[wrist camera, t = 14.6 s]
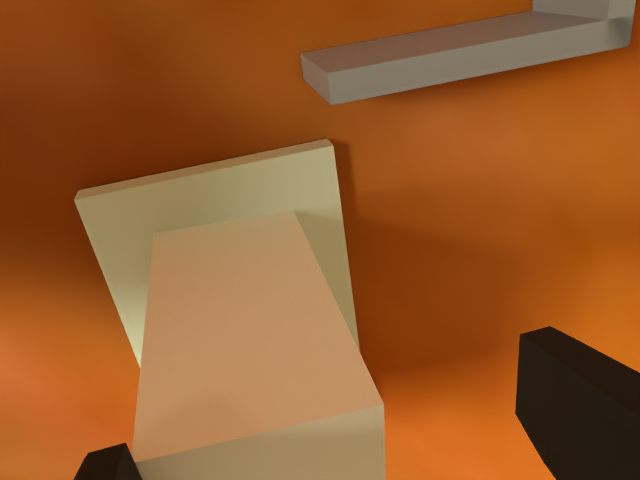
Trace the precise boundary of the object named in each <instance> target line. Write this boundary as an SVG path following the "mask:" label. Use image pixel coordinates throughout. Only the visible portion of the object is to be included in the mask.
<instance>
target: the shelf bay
mask: <svg viewBox="0 0 640 480" xmlns="http://www.w3.org/2000/svg"><path fill="white" fill-rule="evenodd" d="M635 3H636V0H533V3H532V11H527V12H522V13H517V14H511V15H506V16H500V17H495V18H489V19H484V20H478V21H473V22H468V23H462V24H457V25H451V26H446V27H440V28H435V29H429V30H424V31H419V32H413V33H408V34H402V35H397V36H391V37H386V38H380V39H375V40H369V41H364V42H359V43H353V44H348V45H342V46H337V47H331V48H326V49H320V50H315V51H310V52H304V53H300V59H301V66H302V73H303V79H304V81H305V82H306V83H307V84H309V85H310V86H311V87H312V88H313V89H314V90H315V91H316V92H317V93H318V94H319V95H321V96H322V97H323V98H324V99H325V100H326V101H327V102H328V103H329V104H330V105H336V104H341V103H346V102H351V101H356V100H361V99H366V98H371V97H376V96H381V95H386V94H391V93H396V92H401V91H406V90H411V89H416V88H421V87H426V86H431V85H436V84H442V83H447V82H452V81H457V80H462V79H467V78H472V77H477V76H482V75H487V74H492V73H497V72H502V71H507V70H512V69H517V68H522V67H527V66H532V65H537V64H542V63H547V62H552V61H557V60H562V59H567V58H572V57H577V56H582V55H587V54H592V53H597V52H602V51H607V50H612V49H617V48H622V47H627V46H630V39H631V32H632V25H633V18H634V10H635Z"/></svg>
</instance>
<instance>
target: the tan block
mask: <svg viewBox="0 0 640 480" xmlns="http://www.w3.org/2000/svg"><path fill="white" fill-rule="evenodd" d="M132 458H133V460H134V462H135V464H136V466H137V469H138V471H139V473H140V475H141V478H142V480H386V472H385V429H384V403H383V401H382V399H381V397H380V395H379V393H378V390H377V388H376V386H375V384H374V382H373V380H372V378H371V375H370V373H369V371H368V369H367V367H366V365H365V363H364V360H363V358H362V356H361V354H360V352H359V350H358V348H357V345H356V343H355V341H354V339H353V337H352V335H351V333H350V330H349V328H348V326H347V324H346V322H345V320H344V318H343V315H342V313H341V311H340V309H339V307H338V305H337V303H336V300H335V298H334V296H333V294H332V292H331V290H330V288H329V285H328V283H327V281H326V279H325V277H324V275H323V273H322V270H321V268H320V266H319V264H318V262H317V260H316V258H315V255H314V253H313V251H312V249H311V247H310V245H309V243H308V240H307V238H306V236H305V234H304V232H303V230H302V228H301V225H300V223H299V221H298V219H297V217H296V215H295V213H294V210H290V211H284V212H278V213H272V214H266V215H260V216H254V217H248V218H242V219H236V220H230V221H224V222H218V223H211V224H205V225H199V226H193V227H187V228H181V229H175V230H169V231H163V232H157V233H154V234H153V245H152V255H151V265H150V275H149V285H148V295H147V306H146V316H145V326H144V336H143V346H142V357H141V367H140V377H139V387H138V397H137V407H136V418H135V428H134V438H133V448H132Z"/></svg>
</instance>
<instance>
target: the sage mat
mask: <svg viewBox="0 0 640 480" xmlns="http://www.w3.org/2000/svg"><path fill="white" fill-rule="evenodd" d="M74 202H75V204H76V207H77V209H78V212H79V214H80V217H81V220H82V222H83V225H84V227H85V230H86V232H87V235H88V237H89V240H90V242H91V245H92V247H93V250H94V252H95V255H96V257H97V260H98V263H99V265H100V268H101V270H102V273H103V275H104V278H105V280H106V283H107V285H108V288H109V290H110V293H111V295H112V298H113V301H114V303H115V306H116V308H117V311H118V313H119V316H120V318H121V321H122V323H123V326H124V328H125V331H126V333H127V336H128V339H129V341H130V344H131V346H132V349H133V351H134V354H135V356H136V359H137V361H138V364H139V366H140V367H141V357H142V346H143V336H144V326H145V316H146V306H147V295H148V285H149V275H150V265H151V255H152V245H153V234H154V233H157V232H163V231H169V230H175V229H181V228H187V227H193V226H199V225H205V224H211V223H218V222H224V221H230V220H236V219H242V218H248V217H254V216H260V215H266V214H272V213H278V212H284V211H290V210H294V213H295V215H296V217H297V219H298V221H299V223H300V225H301V228H302V230H303V232H304V234H305V236H306V238H307V240H308V243H309V245H310V247H311V249H312V251H313V253H314V255H315V258H316V260H317V262H318V264H319V266H320V268H321V270H322V273H323V275H324V277H325V279H326V281H327V283H328V285H329V288H330V290H331V292H332V294H333V296H334V298H335V300H336V303H337V305H338V307H339V309H340V311H341V313H342V315H343V318H344V320H345V322H346V324H347V326H348V328H349V330H350V333H351V335H352V337H353V339H354V341H355V343H356V345H357V348H358V350H359V352H360V348H359V340H358V332H357V325H356V317H355V309H354V301H353V294H352V286H351V278H350V270H349V263H348V255H347V247H346V239H345V232H344V224H343V216H342V208H341V201H340V193H339V185H338V177H337V170H336V162H335V154H334V146H333V144H332V143H331V142H330V141H329V140H328V139H323V140H318V141H313V142H308V143H303V144H298V145H294V146H289V147H284V148H279V149H274V150H270V151H265V152H260V153H255V154H250V155H246V156H241V157H236V158H231V159H226V160H221V161H217V162H212V163H207V164H202V165H197V166H193V167H188V168H183V169H178V170H173V171H169V172H164V173H159V174H154V175H149V176H144V177H140V178H135V179H130V180H125V181H120V182H116V183H111V184H106V185H101V186H96V187H92V188H87V189H82V190H78V192H77V194H76V196H75V199H74Z"/></svg>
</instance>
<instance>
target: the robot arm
mask: <svg viewBox="0 0 640 480" xmlns="http://www.w3.org/2000/svg"><path fill="white" fill-rule="evenodd" d="M515 414H516V415H517V417H518V419H519V421H520V422H521V424H522V426H523V428H524V429H525V431H526V433H527V435H528V437H529V438H530V440H531V442H532V443H533V445H534V447H535V448H536V450H537V452H538V453H539V455H540V457H541V458H542V460H543V462H544V463H545V465H546V466H547V468H548V469H549V470H550V472H551V473H552V474H553V476H554V477H555V478H556V480H640V373H639V372H637V371H635V370H633V369H631V368H629V367H627V366H625V365H624V364H622V363H620V362H618V361H616V360H614V359H612V358H610V357H608V356H606V355H605V354H603V353H601V352H599V351H597V350H595V349H593V348H591V347H589V346H588V345H586V344H584V343H582V342H580V341H578V340H576V339H574V338H572V337H570V336H568V335H566V334H565V333H563V332H561V331H559V330H556V329H554V328H552V327H550V326H549V327H545V328H542V329H538V330H535V331H531V332H527V333H524V334H520V343H519V360H518V377H517V395H516V412H515ZM74 480H142V478H141V475H140V473H139V471H138V469H137V466H136V464H135V462H134V460H133V458H132V455H131V453H130V451H129V449H128V447H127V444H126V443H123V444H119V445H116V446H112V447H108V448H105V449H101V450H97V451H94V452H90V453H88V454H87V456H86V457H85V459H84V460H83V462H82V464H81V466H80V468H79V470H78V472H77V474H76V476H75V478H74Z"/></svg>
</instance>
